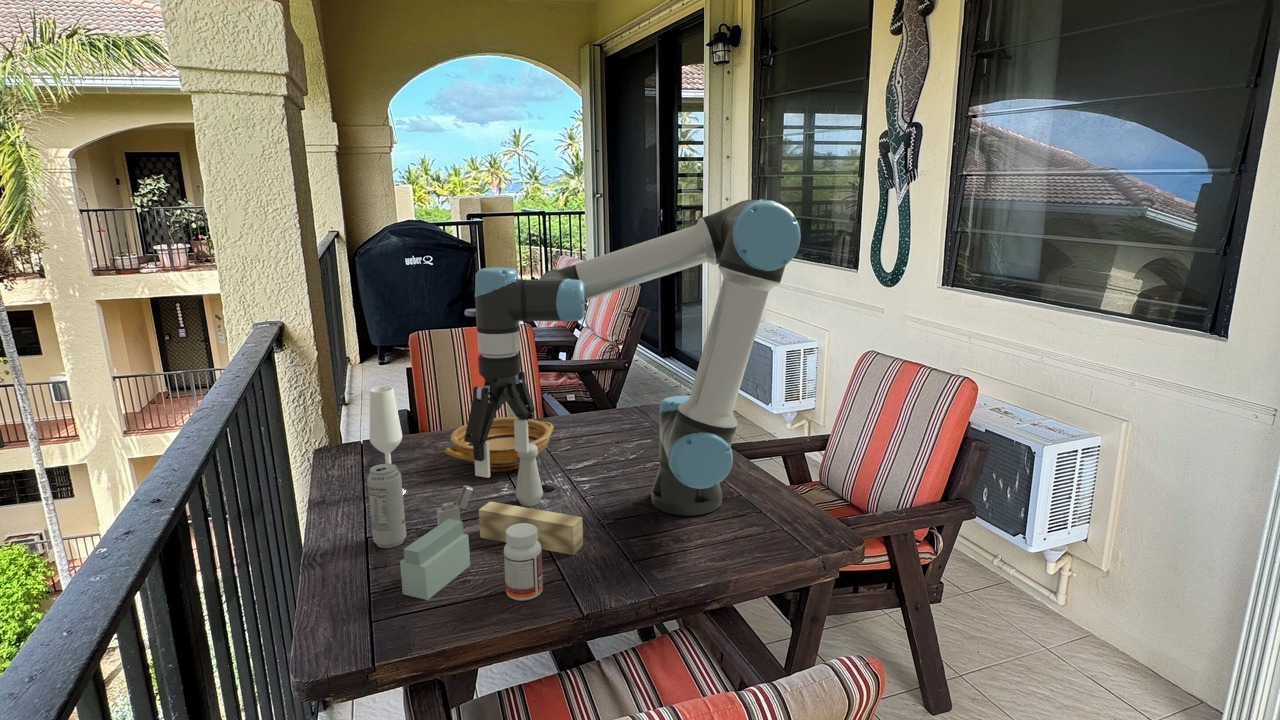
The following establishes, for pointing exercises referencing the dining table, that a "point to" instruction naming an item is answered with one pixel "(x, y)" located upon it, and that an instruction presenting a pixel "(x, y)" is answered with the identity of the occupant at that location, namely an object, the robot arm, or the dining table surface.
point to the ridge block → (435, 560)
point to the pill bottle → (523, 562)
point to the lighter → (454, 506)
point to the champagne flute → (384, 421)
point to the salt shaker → (529, 478)
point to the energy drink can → (386, 505)
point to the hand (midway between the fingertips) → (503, 463)
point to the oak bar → (552, 527)
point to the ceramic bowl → (501, 442)
